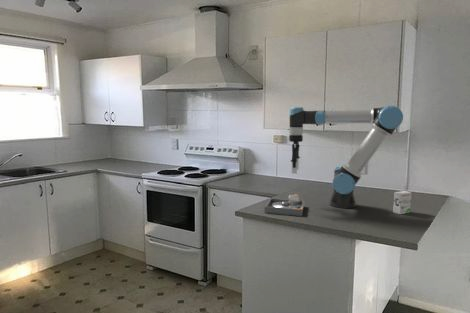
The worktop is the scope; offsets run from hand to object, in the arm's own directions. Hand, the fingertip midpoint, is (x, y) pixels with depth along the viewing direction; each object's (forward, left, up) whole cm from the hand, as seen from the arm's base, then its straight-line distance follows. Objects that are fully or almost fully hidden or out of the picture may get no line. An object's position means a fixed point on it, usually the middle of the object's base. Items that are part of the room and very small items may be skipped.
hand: (295, 171), depth 215 cm
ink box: (-60, -6, -21) cm, 63 cm away
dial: (+4, +9, -19) cm, 21 cm away
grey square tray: (+4, +9, -21) cm, 23 cm away
